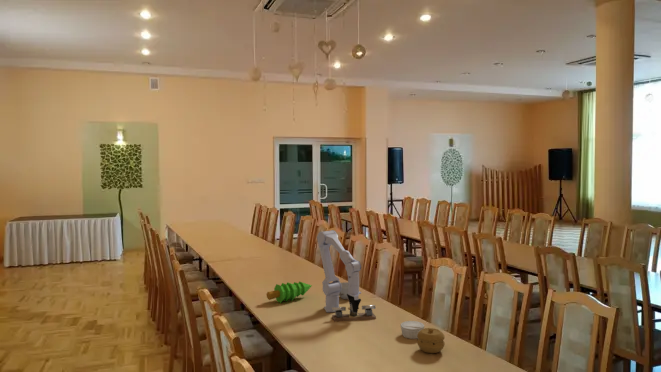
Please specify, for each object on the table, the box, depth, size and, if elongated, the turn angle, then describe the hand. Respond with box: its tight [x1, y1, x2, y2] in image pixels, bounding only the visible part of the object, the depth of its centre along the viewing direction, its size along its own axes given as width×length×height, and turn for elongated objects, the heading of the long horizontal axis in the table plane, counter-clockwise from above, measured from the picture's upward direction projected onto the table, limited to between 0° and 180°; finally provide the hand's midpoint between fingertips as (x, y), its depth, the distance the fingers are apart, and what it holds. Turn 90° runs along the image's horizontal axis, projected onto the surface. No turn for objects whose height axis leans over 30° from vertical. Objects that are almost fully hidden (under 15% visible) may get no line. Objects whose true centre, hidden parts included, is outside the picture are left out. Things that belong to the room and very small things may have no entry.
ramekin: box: [400, 320, 425, 340], centre depth 229 cm, size 11×11×5 cm
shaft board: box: [331, 311, 377, 322], centre depth 255 cm, size 7×22×1 cm, turn 99°
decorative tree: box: [265, 281, 313, 304], centre depth 289 cm, size 11×12×30 cm
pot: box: [416, 327, 446, 354], centre depth 210 cm, size 12×12×10 cm
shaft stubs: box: [332, 304, 376, 318], centre depth 255 cm, size 4×23×5 cm, turn 99°
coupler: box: [347, 303, 360, 317], centre depth 255 cm, size 4×6×6 cm, turn 104°
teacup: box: [339, 281, 349, 300], centre depth 292 cm, size 15×12×8 cm
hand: (353, 309), depth 255 cm, fingers open, 7 cm apart
